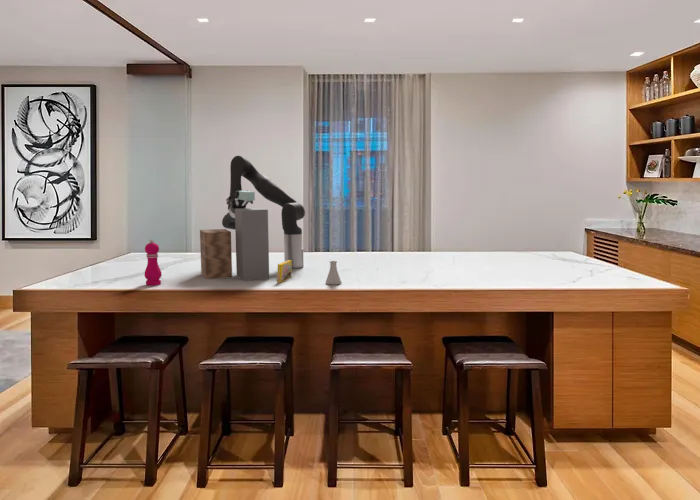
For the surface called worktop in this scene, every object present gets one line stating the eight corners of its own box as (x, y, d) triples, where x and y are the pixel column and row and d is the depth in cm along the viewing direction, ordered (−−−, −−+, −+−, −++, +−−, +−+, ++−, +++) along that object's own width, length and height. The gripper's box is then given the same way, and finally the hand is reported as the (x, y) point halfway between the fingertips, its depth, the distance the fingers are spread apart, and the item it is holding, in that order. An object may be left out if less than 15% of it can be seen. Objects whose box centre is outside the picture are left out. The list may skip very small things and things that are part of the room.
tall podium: (261, 274, 317) (259, 207, 313) (269, 278, 302) (267, 209, 298) (236, 275, 313) (234, 208, 309) (243, 280, 298) (241, 210, 294)
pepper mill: (165, 283, 291) (163, 238, 289) (155, 286, 284) (153, 240, 282) (151, 282, 293) (149, 238, 291) (141, 285, 286) (139, 239, 284)
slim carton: (244, 198, 325) (244, 190, 325) (254, 200, 305) (254, 191, 305) (236, 199, 324) (236, 190, 324) (246, 200, 304) (246, 192, 303)
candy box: (281, 283, 291) (281, 264, 290) (277, 282, 292) (276, 264, 291) (292, 277, 307) (291, 259, 306) (287, 277, 308) (287, 259, 307)
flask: (324, 282, 291) (324, 260, 290) (341, 282, 292) (340, 260, 290) (325, 285, 284) (325, 262, 283) (342, 285, 284) (342, 262, 283)
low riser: (226, 272, 322) (224, 229, 320) (232, 277, 307) (230, 231, 305) (201, 274, 318) (199, 229, 315) (206, 278, 303) (204, 232, 301)
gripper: (222, 202, 332) (227, 185, 318) (250, 201, 338) (256, 185, 323) (224, 215, 330) (229, 199, 315) (252, 214, 335) (258, 198, 320)
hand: (243, 192), depth 319 cm, fingers closed on slim carton, 4 cm apart
